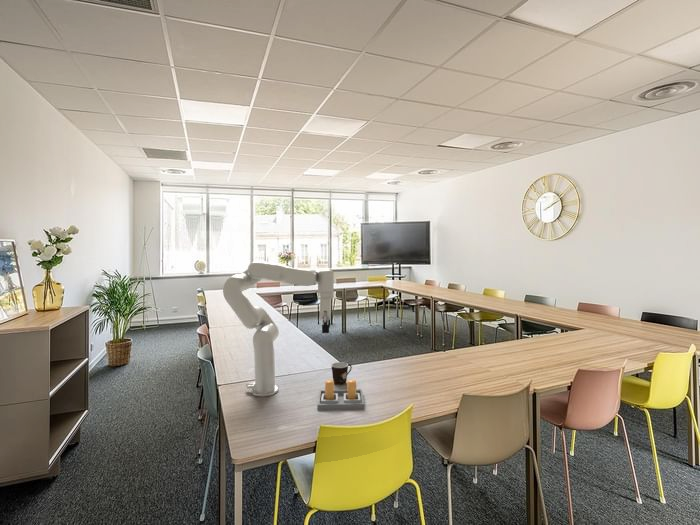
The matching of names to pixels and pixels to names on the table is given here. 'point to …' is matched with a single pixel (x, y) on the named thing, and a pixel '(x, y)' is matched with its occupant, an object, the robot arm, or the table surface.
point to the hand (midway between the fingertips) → (326, 330)
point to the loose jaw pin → (351, 389)
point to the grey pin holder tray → (340, 400)
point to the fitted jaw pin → (329, 390)
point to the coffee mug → (340, 372)
